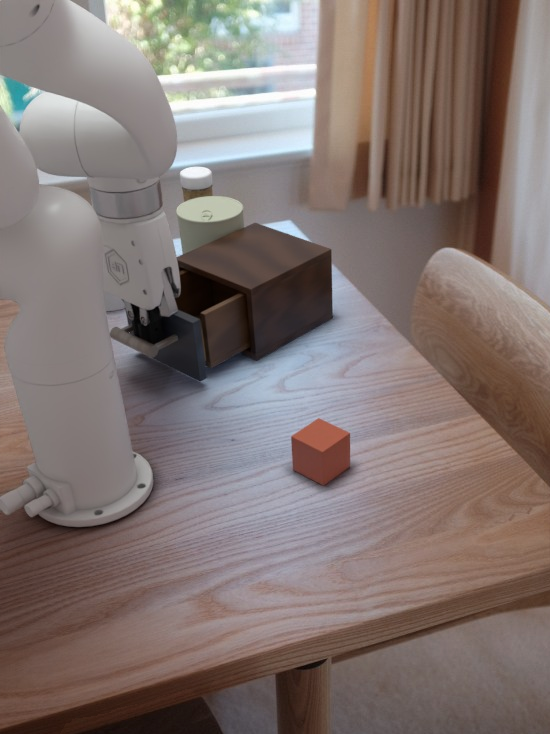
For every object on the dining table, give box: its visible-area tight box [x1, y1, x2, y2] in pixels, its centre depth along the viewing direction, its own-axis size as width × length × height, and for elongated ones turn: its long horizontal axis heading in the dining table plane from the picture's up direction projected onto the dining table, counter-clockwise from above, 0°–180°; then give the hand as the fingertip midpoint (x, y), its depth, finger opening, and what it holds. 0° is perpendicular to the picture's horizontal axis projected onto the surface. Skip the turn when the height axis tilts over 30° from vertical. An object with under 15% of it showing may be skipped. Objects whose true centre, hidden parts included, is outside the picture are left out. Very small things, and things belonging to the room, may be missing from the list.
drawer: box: [109, 269, 251, 383], centre depth 112 cm, size 18×13×8 cm
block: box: [290, 417, 351, 486], centre depth 96 cm, size 4×4×4 cm
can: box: [175, 195, 245, 255], centre depth 127 cm, size 9×9×12 cm
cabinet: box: [176, 222, 334, 362], centre depth 119 cm, size 15×14×10 cm
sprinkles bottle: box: [179, 166, 214, 202], centre depth 133 cm, size 5×5×13 cm
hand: (151, 347), depth 109 cm, fingers closed
